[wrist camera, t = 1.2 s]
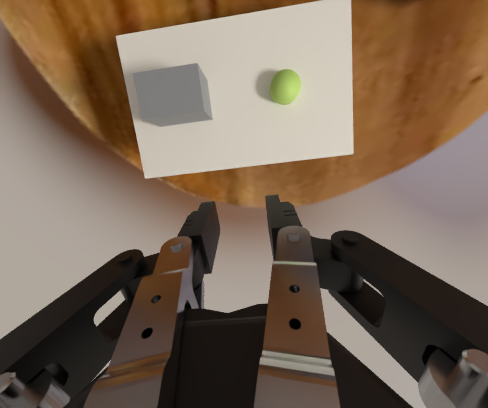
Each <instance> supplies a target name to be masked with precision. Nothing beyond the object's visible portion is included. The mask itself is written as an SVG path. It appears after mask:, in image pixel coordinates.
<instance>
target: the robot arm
mask: <svg viewBox="0 0 488 408" xmlns="http://www.w3.org/2000/svg"><path fill="white" fill-rule="evenodd" d="M265 198H266V209H267V220H268V229H269V235H270V242H271V247H272V254H273V264H272V272H271V281H270V290H269V299H268V304H257V305H253V306H250V307H247V308H244V309H240V310H237V311H234V312H230V313H224V312H218V311H213V310H207V309H204V282H203V277H204V274H208V273H209V274H210V273H211V272H212V268H213V263H214V259H215V254H216V249H217V245H218V240H219V235H220V224H219V219H218V214H217V210H216V205H215V202H214V201H212V202H203V203H201V205H200V207H199V209H198V211H193V212H192V213H191V214H190V215H189V216H188V217H187V219H186V221H185V223H184V225H183V227H182V228H181V230H180V232H179V234H178V236H177V237H175V238H173V239H170V240H168V241H167V242H166V243H164V244H163V246H162V247H161V250H160V253H157V254H154V255H150V256H146V257H144V256H143V253H142V252H141V251H140V250H137V249H133V250H128V251H125V252H123V253H120V254H119V255H117V256H115V257H114V258H113V259H111V260H110V261H109V262H107V263H106V264H104V265H103V266H102V267H100V268H99V269H97V270H96V271H95V272H93V273H92V274H90V275H89V276H88V277H86V278H85V279H84V280H82V281H81V282H79V283H78V284H77V285H75V286H74V287H73V288H71V289H70V290H68V291H67V292H66V293H64V294H63V295H61V296H60V297H59V298H57V299H56V300H54V301H53V302H52V303H50V304H49V305H48V306H46V307H45V308H43V309H42V310H40V311H39V312H38V313H36V314H35V315H34V316H32V317H31V318H29V319H28V320H27V321H25V322H24V323H22V324H21V325H20V326H18V327H17V328H16V329H14V330H13V331H11V332H10V333H9V334H7V335H6V336H4V337H3V338H2V339H0V408H413V407H412V406H411V405H410V404H408V403H407V402H406V401H405V400H404V399H403V398H402V397H400V396H399V395H398V394H397V393H396V392H395V391H394V390H393V389H391V388H390V387H389V386H388V385H387V384H386V383H384V382H383V381H382V380H381V379H380V378H379V377H378V376H377V375H375V374H374V373H373V372H372V371H371V370H370V369H369V368H368V367H366V366H365V365H364V364H363V363H362V362H361V361H360V360H358V359H357V358H356V357H355V356H354V355H353V354H351V353H350V352H349V351H348V350H347V349H346V348H345V347H344V346H342V345H341V344H340V343H339V342H338V341H337V340H336V339H335V338H333V337H332V336H331V335H330V334H329V333H327V331H326V325H325V318H324V312H323V305H322V298H321V291H320V288H323V289H328V291H329V293H330V294H331V295H332V296H333V297H334V298H335V299H336V300H337V301H338V302H339V303H340V305H342V306H343V308H344V309H346V311H347V312H348V313H349V314H350V315H351V316H352V317H353V318H354V319H355V320H356V321H357V322H358V323H359V324H360V325H361V326H362V327H363V328H364V329H365V330H366V331H367V332H368V333H369V334H370V335H371V336H373V338H374V339H375V340H376V341H377V342H378V343H379V344H380V345H381V346H382V347H383V348H384V349H385V350H386V351H387V352H388V353H389V354H390V355H391V356H392V357H393V358H394V359H395V360H396V361H397V362H398V363H399V364H400V365H401V366H402V367H403V368H404V369H405V370H406V371H407V372H408V373H409V374H410V375H411V376H412V377H413V378H414V379H415V380H416V381H417V382H418V387H419V393H420V396H421V398H422V400H423V402H424V404H425V406H426V408H488V306H486V305H485V304H483V303H481V302H479V301H478V300H476V299H474V298H472V297H471V296H469V295H467V294H465V293H464V292H462V291H460V290H458V289H457V288H455V287H453V286H451V285H450V284H448V283H446V282H444V281H443V280H441V279H439V278H437V277H436V276H434V275H432V274H430V273H429V272H427V271H425V270H423V269H422V268H420V267H418V266H416V265H415V264H413V263H411V262H409V261H408V260H406V259H404V258H402V257H401V256H399V255H397V254H395V253H394V252H392V251H390V250H388V249H387V248H385V247H383V246H381V245H380V244H378V243H376V242H374V241H373V240H371V239H369V238H367V237H366V236H364V235H362V234H360V233H357V232H354V231H347V230H346V231H345V230H344V231H338V232H335V233H334V234H333V235H332V236H331V240H328V239H320V238H315V237H312V236H310V233H309V231H308V230H307V229H305V228H303V227H302V225H301V223H300V221H299V218H298V216H297V213H296V211H295V208H294V206H293V205H292V204H291V203H289V202H280V200H279V197H278V195H268V196H265ZM364 279H365V280H366V281H367V282H369V283H370V284H371V285H373V286H374V287H375V288H376V289H378V290H379V291H380V292H381V294H382V295H383V296H384V297H383V296H382V295H381V294H379V293H378V292H377V291H376V290H374V289H373V288H372V287H370V286H369V285H368V284H366V283H365V282H364V281H363V280H364ZM120 290H121V292H122V294H123V296H124V298H125V301H123V302H122V303H121V304H120V305H119V306H118V307H117V308H116V309H115V310H114V311H113V312H112V313H111V314H109V315H108V317H106V318H105V319H104V320H103V321H102V322H101V323H100V324H99V325H98V326H97V327H96V325H95V324H94V315H95V313H96V312H97V310H98V309H99V308H100V307H102V306H103V305H104V304H105V303H106V302H107V301H108V300H110V299H111V298H112V297H113V296H114V295H115V294H116V293H117V292H119V291H120ZM110 360H111V361H110ZM109 361H110V364H109V366H108V367H107V368H106V369H105V370H104V371H103V372H102V373H100V374H99V375H98V376H97V374H98V373H99V372H100V371H101V370H102V369H103V368H104V366H106V364H107V363H108V362H109ZM96 376H97V377H96ZM95 377H96V378H95ZM94 378H95V379H94ZM93 379H94V380H93ZM92 380H93V381H92ZM91 381H92V382H91Z"/></svg>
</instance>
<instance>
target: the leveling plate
mask: <svg viewBox="0 0 488 408" xmlns="http://www.w3.org/2000/svg"><path fill="white" fill-rule="evenodd" d="M116 40H117V45H118V50H119V55H120V60H121V64H122V69H123V74H124V79H125V84H126V89H127V93H128V98H129V103H130V108H131V113H132V118H133V122H134V127H135V132H136V137H137V142H138V146H139V151H140V156H141V161H142V166H143V171H144V175H145V178H154V177H163V176H171V175H180V174H188V173H197V172H205V171H214V170H222V169H231V168H239V167H248V166H256V165H265V164H273V163H281V162H290V161H298V160H307V159H315V158H324V157H332V156H341V155H349V154H353V92H352V28H351V0H322V1H316V2H310V3H304V4H299V5H293V6H287V7H281V8H275V9H269V10H264V11H258V12H252V13H246V14H240V15H234V16H229V17H223V18H217V19H211V20H205V21H200V22H194V23H188V24H182V25H176V26H170V27H165V28H159V29H153V30H147V31H141V32H135V33H130V34H124V35H118V36H116Z"/></svg>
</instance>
